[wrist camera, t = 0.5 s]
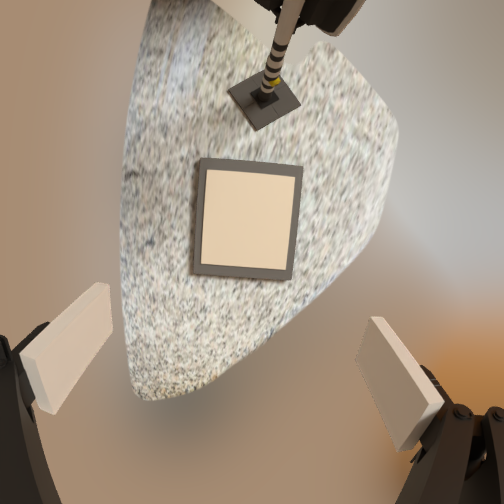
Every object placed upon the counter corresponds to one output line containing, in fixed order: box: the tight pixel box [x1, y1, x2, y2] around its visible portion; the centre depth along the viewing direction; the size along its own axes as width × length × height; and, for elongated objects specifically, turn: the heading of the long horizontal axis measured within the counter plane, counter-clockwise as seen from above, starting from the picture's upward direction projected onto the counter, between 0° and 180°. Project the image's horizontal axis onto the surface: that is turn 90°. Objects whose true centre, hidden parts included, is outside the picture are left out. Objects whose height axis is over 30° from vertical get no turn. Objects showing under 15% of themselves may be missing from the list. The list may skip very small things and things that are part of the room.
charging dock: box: [193, 158, 303, 280], centre depth 39 cm, size 15×13×2 cm
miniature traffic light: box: [229, 0, 366, 130], centre depth 21 cm, size 8×8×30 cm
